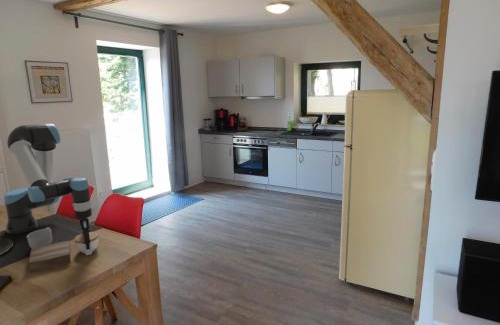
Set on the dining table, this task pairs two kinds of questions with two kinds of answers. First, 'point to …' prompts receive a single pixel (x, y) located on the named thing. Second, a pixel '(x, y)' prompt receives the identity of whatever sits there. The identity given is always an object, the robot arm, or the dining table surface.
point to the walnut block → (49, 256)
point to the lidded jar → (80, 240)
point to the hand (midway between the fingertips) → (88, 249)
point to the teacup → (40, 238)
